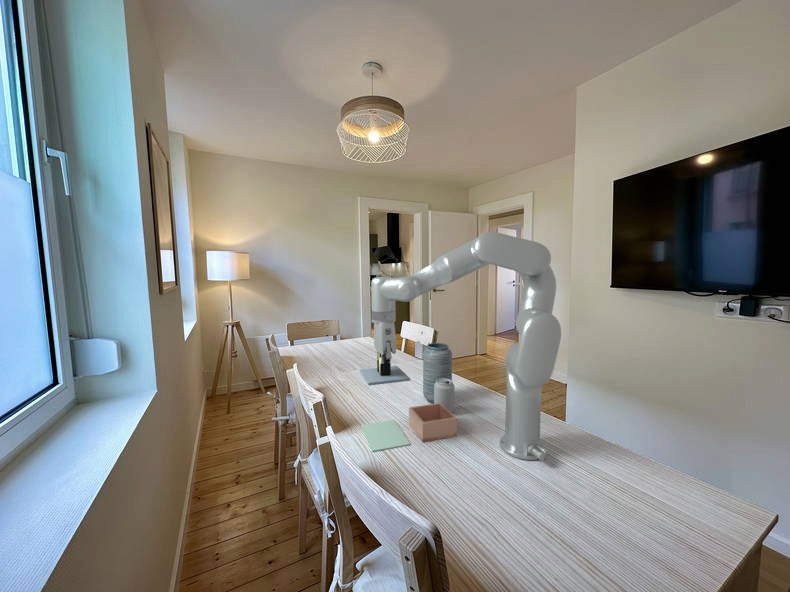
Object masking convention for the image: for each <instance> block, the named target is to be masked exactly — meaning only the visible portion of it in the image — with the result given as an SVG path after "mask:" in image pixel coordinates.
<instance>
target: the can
mask: <svg viewBox="0 0 790 592" xmlns="http://www.w3.org/2000/svg"><path fill="white" fill-rule="evenodd" d="M436 403H441V404H442V405H443V406H445V407H446V408H447V409H448V410H449V411H450V412H451V413H452V414H453V413H454V412H455V383H454V382H453V379H452V380H450V379H446V378H440V379H437V380H436V383H435V384H434V404H436Z"/></svg>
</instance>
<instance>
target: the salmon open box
mask: <svg viewBox="0 0 790 592" xmlns="http://www.w3.org/2000/svg"><path fill="white" fill-rule="evenodd" d="M408 425H409V426H410V428H411V427H412V428H411V429H412V431H413V432H414V431H415V432H414V433H415V435H416V436H417V437H418V438H419V440H420V441H421V443H427V442H433V441H437V440H438V441H439V440H442V439H443V440H444V439H449V438H455V437H458V417H457V416H456V415H455V414H454V413H453V412H452V413H451V412H450V411H449V410H448V409H447V408H446V407H445V406H443V405H442V404H441V403H436V404H431V403H429V404H424V405H418V406H416V405H415V406H410V407H408Z"/></svg>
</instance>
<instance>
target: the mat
mask: <svg viewBox="0 0 790 592" xmlns="http://www.w3.org/2000/svg"><path fill="white" fill-rule="evenodd" d="M360 426H361V428H362V429H361V430H362V431H363V433H364V436H365V438H366V441H367V443H368V445H369V448H370V450H371V452H372V453H374V452H380V451H385V450H391V449H394V448H402V447H406V446H410V445H411V444H412V443H410V441H409V439H408V438H407V436H406V435H405V433H404V432H403V430H402V429H401V427H400V426H399V424H398V423H397V421H396V420H395V419H391V420H390V419H389V420H385V421H377V422H371V423H364V424H361V425H360Z"/></svg>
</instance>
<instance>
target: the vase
mask: <svg viewBox="0 0 790 592" xmlns="http://www.w3.org/2000/svg"><path fill="white" fill-rule="evenodd" d="M422 356H423V360H422V361H423V362H422V366H423V367H422V377H423V378H422V394H423V395H422V396H423V397H424V398H425V400H426V401H427V402H428V403H429V404H434V384H435V383H436V380H437V379H440V378H446V379H450V380H452V381H453V352H452V350H451V349H450V348H449V345H448V344H447V343H442V342H431V343H428V344H426V348H425V349H424V350H423V353H422Z"/></svg>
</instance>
